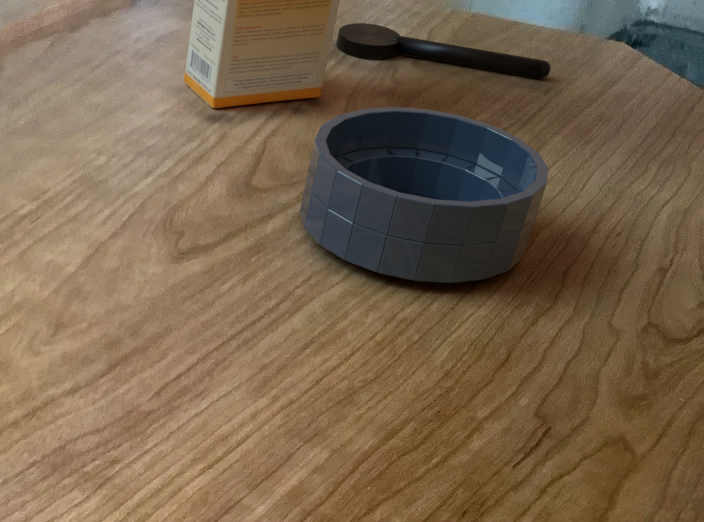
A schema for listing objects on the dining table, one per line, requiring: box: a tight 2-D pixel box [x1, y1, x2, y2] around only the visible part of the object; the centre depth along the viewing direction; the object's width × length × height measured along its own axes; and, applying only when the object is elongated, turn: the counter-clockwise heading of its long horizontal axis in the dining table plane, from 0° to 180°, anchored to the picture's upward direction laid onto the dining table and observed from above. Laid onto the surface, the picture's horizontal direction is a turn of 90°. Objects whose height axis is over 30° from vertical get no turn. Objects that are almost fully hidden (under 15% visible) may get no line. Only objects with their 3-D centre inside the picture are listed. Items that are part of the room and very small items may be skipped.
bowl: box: [299, 106, 550, 284], centre depth 76 cm, size 12×12×5 cm
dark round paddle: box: [335, 22, 552, 79], centre depth 99 cm, size 15×4×1 cm, turn 69°
